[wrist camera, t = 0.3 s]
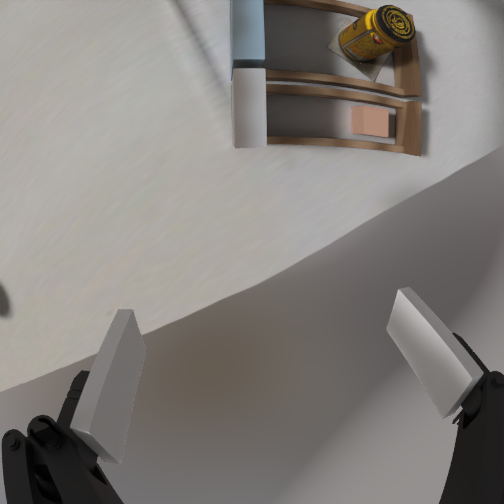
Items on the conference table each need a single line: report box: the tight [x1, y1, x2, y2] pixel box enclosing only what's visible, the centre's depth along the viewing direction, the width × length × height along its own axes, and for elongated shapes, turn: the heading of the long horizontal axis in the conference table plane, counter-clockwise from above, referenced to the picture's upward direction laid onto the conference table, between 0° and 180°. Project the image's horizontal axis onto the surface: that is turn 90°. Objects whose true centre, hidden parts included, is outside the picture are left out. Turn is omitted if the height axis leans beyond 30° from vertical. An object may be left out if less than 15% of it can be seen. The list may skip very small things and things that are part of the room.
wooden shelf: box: [230, 0, 421, 98], centre depth 24 cm, size 26×14×11 cm, turn 91°
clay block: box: [351, 106, 388, 137], centre depth 33 cm, size 4×4×4 cm
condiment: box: [327, 5, 415, 81], centre depth 24 cm, size 7×8×12 cm
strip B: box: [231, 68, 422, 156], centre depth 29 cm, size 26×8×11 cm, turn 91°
